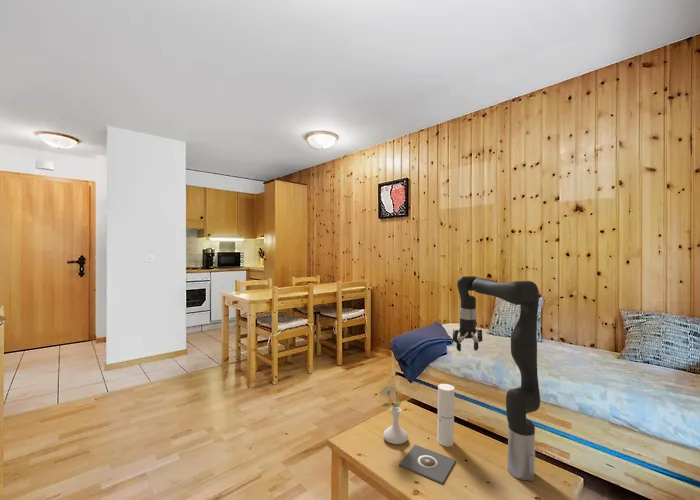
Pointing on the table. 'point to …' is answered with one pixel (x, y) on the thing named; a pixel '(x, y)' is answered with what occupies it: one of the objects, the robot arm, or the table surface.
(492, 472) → the table surface
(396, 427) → the flower in vase
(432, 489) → the table surface
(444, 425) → the cylindrical container
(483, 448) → the table surface
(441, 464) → the pad
